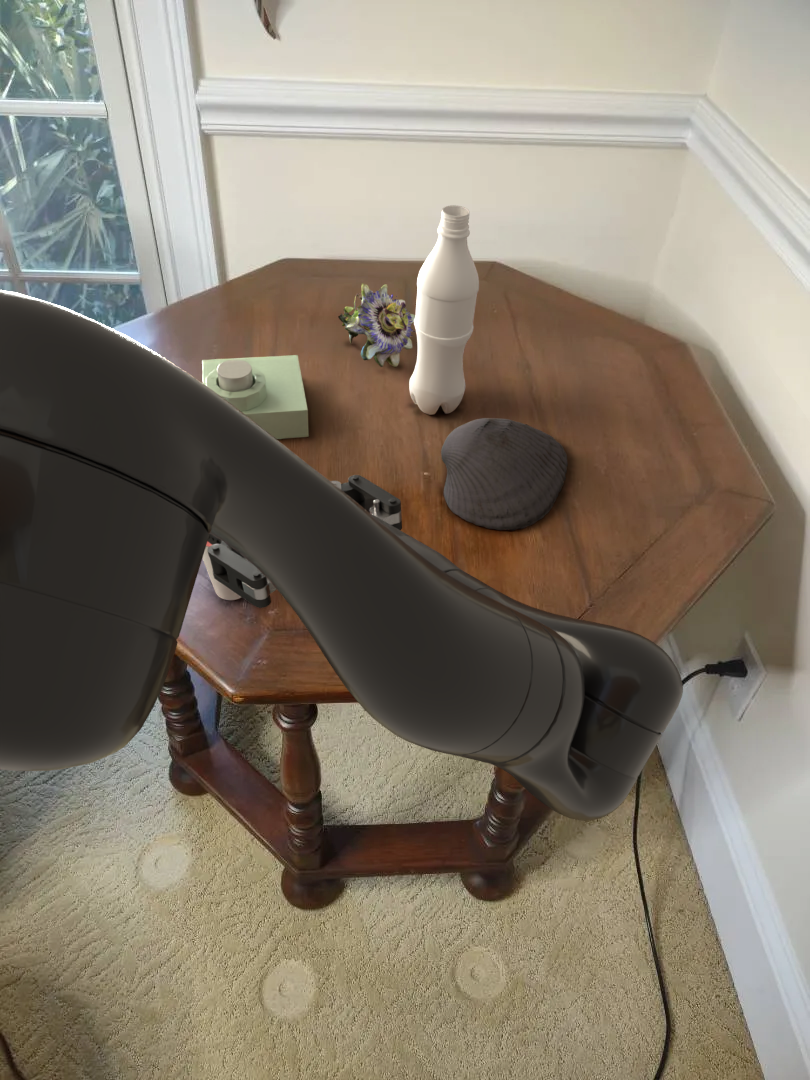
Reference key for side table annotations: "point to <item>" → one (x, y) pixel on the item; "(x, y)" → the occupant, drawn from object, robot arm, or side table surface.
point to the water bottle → (444, 315)
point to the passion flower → (380, 325)
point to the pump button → (235, 375)
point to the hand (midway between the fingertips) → (254, 500)
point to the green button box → (268, 394)
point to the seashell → (502, 473)
